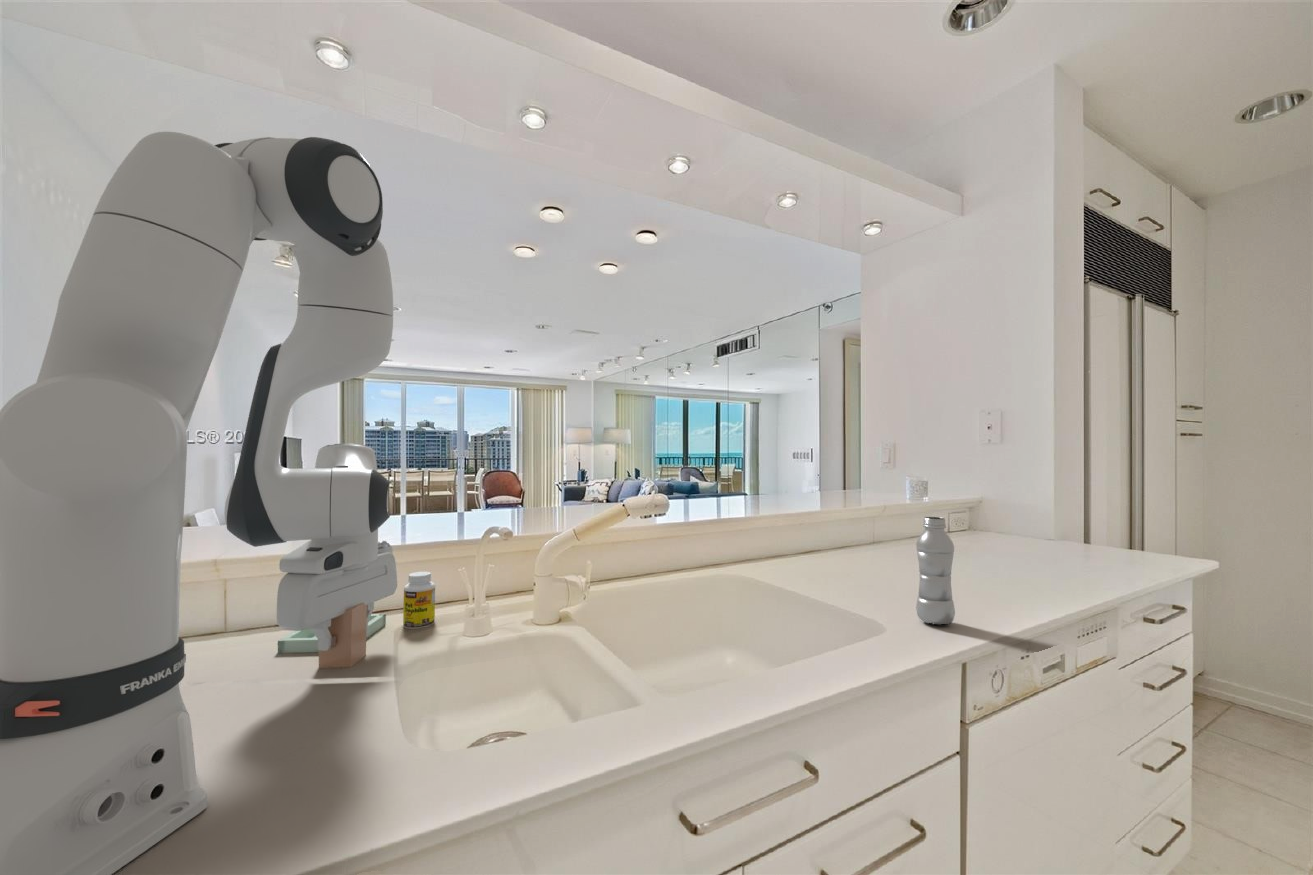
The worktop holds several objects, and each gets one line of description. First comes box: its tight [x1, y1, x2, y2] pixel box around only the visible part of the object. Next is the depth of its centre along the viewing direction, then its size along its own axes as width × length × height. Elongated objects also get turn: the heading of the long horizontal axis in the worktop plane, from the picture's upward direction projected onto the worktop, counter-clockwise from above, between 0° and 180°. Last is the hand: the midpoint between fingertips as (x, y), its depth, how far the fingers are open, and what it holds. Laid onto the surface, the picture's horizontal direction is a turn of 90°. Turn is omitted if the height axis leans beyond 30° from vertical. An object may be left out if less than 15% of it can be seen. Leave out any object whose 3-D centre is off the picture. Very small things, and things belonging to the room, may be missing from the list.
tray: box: [277, 613, 387, 654], centre depth 90 cm, size 13×11×2 cm
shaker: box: [318, 603, 367, 669], centre depth 80 cm, size 5×5×10 cm
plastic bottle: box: [915, 516, 956, 625], centre depth 100 cm, size 6×7×20 cm
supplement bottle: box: [402, 571, 436, 629], centre depth 97 cm, size 5×5×10 cm
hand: (343, 640), depth 80 cm, fingers closed on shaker, 5 cm apart
